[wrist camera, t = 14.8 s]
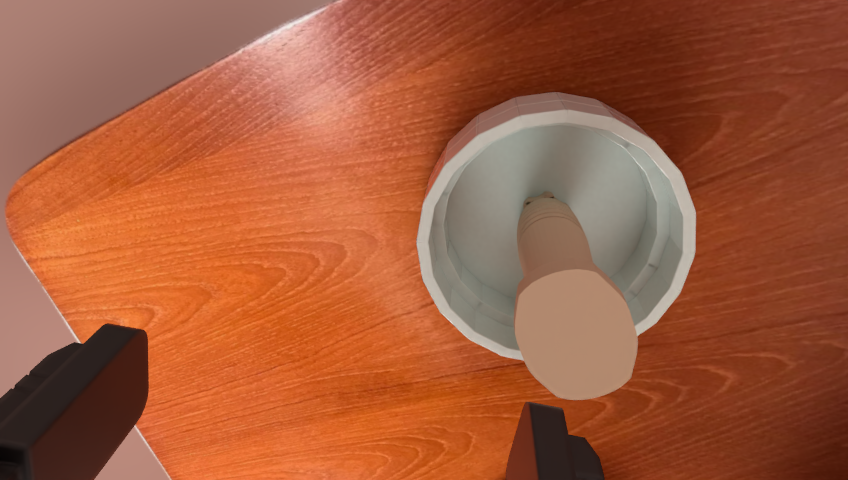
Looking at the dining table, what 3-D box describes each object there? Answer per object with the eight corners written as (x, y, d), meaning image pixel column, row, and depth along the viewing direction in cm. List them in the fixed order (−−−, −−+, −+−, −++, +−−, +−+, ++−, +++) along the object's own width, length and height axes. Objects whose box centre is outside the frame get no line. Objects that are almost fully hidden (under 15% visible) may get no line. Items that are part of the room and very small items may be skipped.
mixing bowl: (449, 70, 38) (443, 86, 32) (700, 116, 38) (738, 141, 32) (409, 291, 44) (399, 337, 38) (625, 332, 44) (646, 384, 38)
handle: (565, 155, 39) (612, 254, 25) (594, 245, 41) (652, 383, 27) (491, 181, 40) (496, 290, 26) (523, 267, 42) (543, 411, 28)
